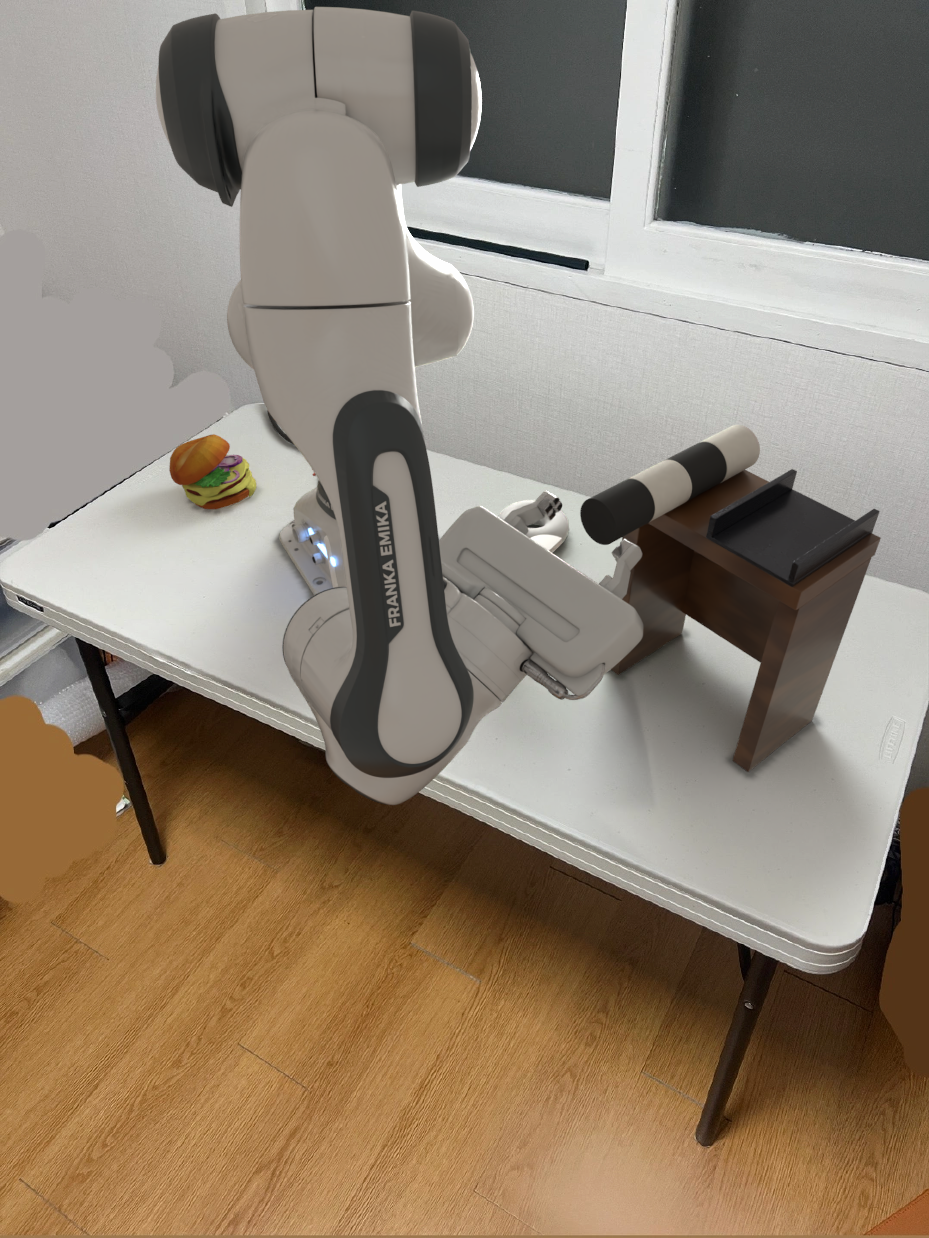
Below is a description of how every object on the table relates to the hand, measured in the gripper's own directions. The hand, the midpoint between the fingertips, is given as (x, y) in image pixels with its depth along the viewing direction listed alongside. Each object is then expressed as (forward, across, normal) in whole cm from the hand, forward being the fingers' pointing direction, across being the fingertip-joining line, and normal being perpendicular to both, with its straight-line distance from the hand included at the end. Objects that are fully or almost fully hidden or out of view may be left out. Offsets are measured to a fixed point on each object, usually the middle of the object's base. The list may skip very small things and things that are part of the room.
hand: (593, 520), depth 76 cm
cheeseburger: (-20, +66, +20) cm, 72 cm away
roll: (+8, 0, +9) cm, 12 cm away
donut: (+4, +29, +34) cm, 45 cm away
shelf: (0, -5, +32) cm, 32 cm away
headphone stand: (-6, +17, +28) cm, 34 cm away
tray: (+12, -10, +11) cm, 19 cm away
